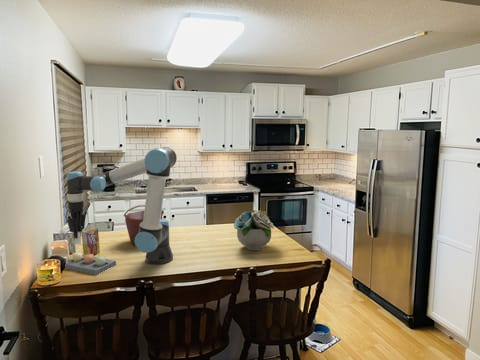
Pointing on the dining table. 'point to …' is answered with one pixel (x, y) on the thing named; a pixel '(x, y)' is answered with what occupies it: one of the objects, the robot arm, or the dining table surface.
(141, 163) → the robot arm
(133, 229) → the bucket
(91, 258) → the terracotta button
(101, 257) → the sage button
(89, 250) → the candy box
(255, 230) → the flower arrangement
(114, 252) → the dining table surface
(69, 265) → the slate board
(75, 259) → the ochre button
